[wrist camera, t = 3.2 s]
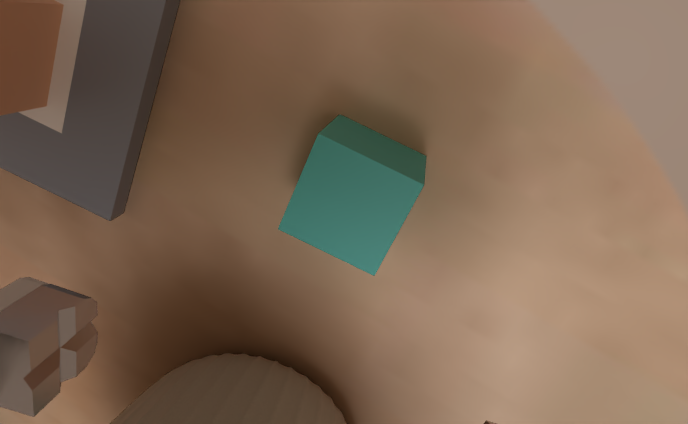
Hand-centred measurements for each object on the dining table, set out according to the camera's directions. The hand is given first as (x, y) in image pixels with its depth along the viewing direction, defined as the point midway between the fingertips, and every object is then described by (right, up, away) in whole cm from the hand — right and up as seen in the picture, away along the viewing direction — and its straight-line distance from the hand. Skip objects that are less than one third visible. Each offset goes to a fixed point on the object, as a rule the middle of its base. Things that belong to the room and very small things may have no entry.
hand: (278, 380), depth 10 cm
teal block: (+2, +5, +14) cm, 15 cm away
